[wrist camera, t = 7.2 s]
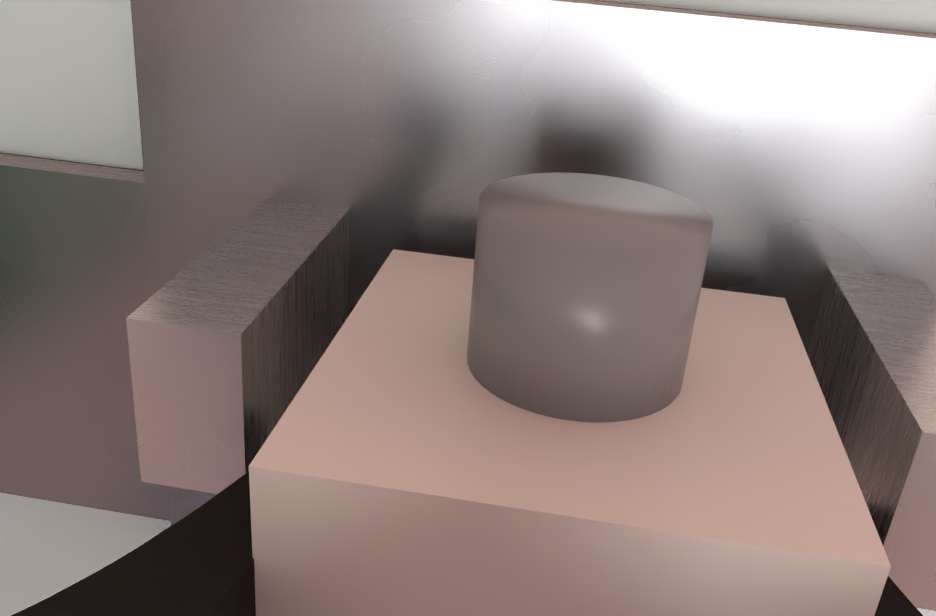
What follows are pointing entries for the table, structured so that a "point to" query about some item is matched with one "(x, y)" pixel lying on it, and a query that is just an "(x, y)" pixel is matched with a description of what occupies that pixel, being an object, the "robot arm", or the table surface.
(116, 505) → the grey peg tray
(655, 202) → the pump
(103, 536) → the table surface
